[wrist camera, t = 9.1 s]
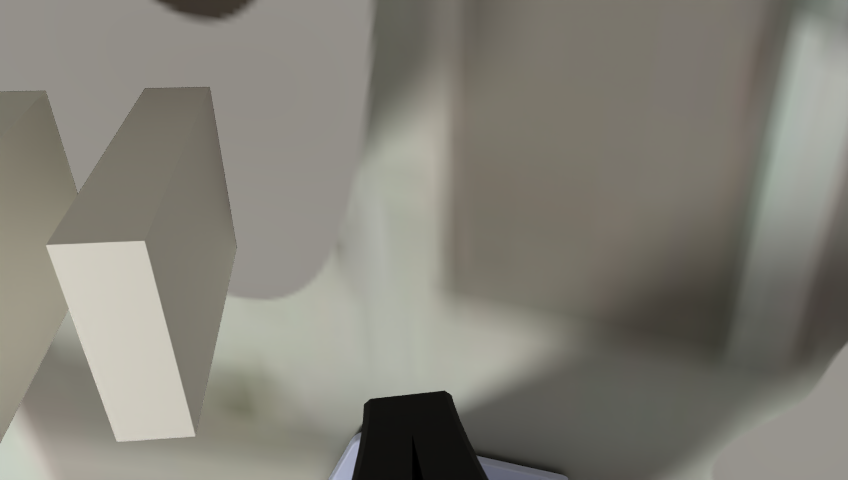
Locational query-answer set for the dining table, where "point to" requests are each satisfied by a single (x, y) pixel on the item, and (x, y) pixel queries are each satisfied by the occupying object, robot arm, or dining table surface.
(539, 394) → the dining table surface
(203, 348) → the light grey rectangular block
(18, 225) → the domino
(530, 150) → the dining table surface
